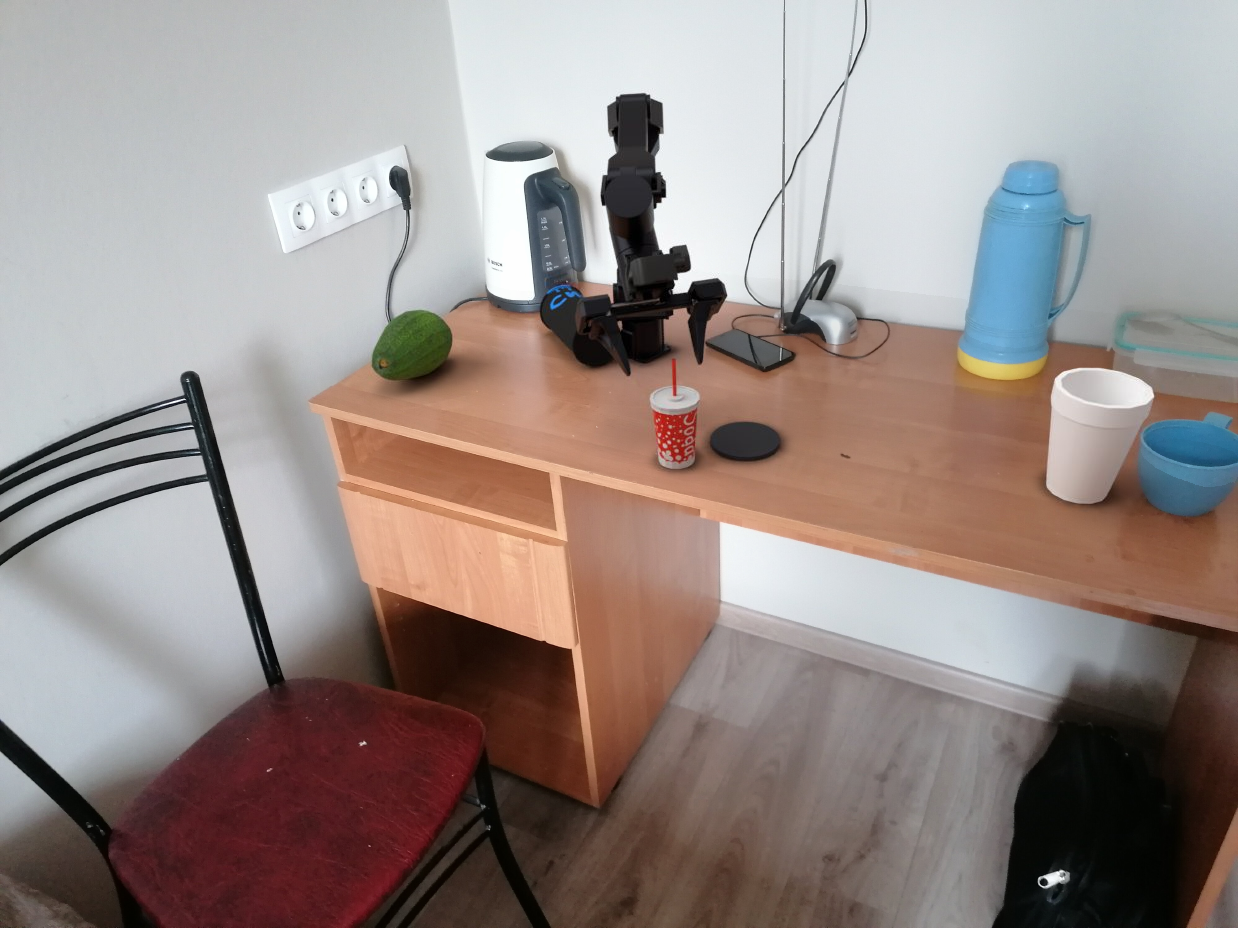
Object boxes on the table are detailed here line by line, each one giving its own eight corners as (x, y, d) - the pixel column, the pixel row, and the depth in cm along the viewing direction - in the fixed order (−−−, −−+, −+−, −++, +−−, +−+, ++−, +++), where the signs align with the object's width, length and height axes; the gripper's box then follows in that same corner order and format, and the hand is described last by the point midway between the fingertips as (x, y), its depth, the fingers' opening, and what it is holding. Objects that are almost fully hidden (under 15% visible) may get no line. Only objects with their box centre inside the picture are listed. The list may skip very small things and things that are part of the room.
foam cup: (1016, 470, 101) (1038, 371, 94) (1092, 462, 102) (1119, 364, 95) (1058, 516, 93) (1085, 412, 86) (1140, 507, 94) (1173, 403, 87)
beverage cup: (668, 477, 105) (664, 375, 97) (644, 455, 109) (638, 356, 102) (710, 463, 107) (709, 362, 99) (684, 442, 112) (682, 344, 104)
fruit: (408, 402, 126) (394, 340, 121) (359, 390, 131) (343, 330, 125) (471, 361, 137) (461, 302, 132) (423, 351, 141) (412, 294, 136)
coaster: (740, 418, 116) (740, 414, 116) (794, 440, 110) (794, 436, 110) (695, 444, 111) (695, 440, 111) (750, 469, 105) (750, 464, 105)
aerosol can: (572, 370, 131) (532, 326, 147) (621, 363, 134) (576, 320, 150) (572, 319, 127) (530, 279, 143) (622, 313, 130) (576, 274, 145)
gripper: (570, 233, 99) (598, 357, 96) (722, 213, 102) (754, 332, 99) (565, 277, 110) (589, 389, 107) (702, 257, 113) (730, 366, 110)
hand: (665, 369), depth 105 cm, fingers open, 9 cm apart
